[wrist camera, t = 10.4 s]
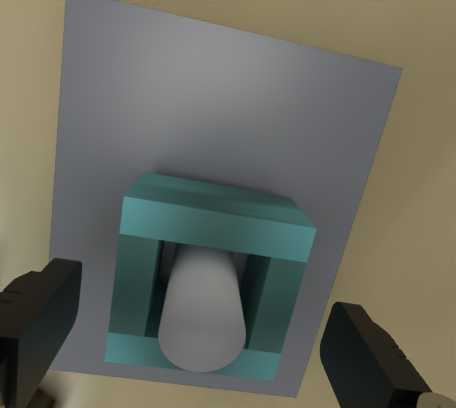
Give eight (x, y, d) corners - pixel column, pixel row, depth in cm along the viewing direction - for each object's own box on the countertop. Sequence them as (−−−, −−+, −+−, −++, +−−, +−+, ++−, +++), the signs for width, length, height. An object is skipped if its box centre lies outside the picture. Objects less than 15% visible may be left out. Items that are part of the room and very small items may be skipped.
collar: (291, 197, 14) (316, 228, 11) (259, 321, 16) (273, 380, 13) (143, 171, 14) (123, 196, 10) (126, 303, 15) (104, 361, 12)
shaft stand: (385, 70, 17) (579, 44, 8) (290, 377, 22) (345, 564, 13) (79, -2, 15) (-92, -131, 6) (53, 348, 20) (-62, 540, 11)
